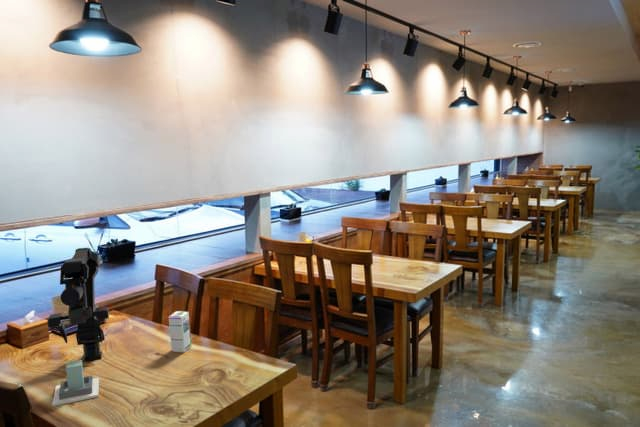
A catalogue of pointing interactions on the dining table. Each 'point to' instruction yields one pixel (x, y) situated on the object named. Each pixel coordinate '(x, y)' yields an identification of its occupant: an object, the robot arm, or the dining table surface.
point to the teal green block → (75, 375)
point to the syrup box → (180, 331)
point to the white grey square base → (76, 391)
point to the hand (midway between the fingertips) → (81, 340)
